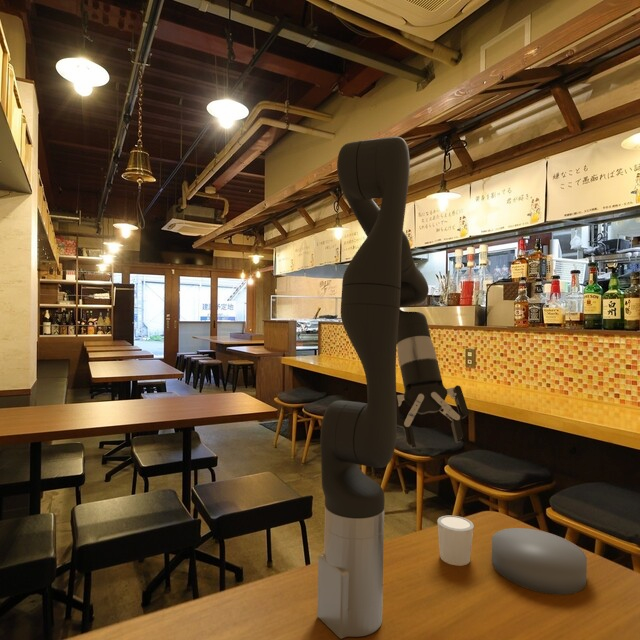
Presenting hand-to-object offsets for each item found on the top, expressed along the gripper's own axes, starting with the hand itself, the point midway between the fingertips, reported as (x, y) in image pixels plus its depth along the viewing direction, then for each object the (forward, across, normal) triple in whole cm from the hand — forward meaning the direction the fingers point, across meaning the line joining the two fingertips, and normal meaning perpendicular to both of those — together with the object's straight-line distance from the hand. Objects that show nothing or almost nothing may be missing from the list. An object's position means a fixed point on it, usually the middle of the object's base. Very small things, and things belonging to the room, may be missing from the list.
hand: (436, 445), depth 85 cm
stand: (+24, +16, +10) cm, 30 cm away
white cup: (+21, +1, +12) cm, 24 cm away
